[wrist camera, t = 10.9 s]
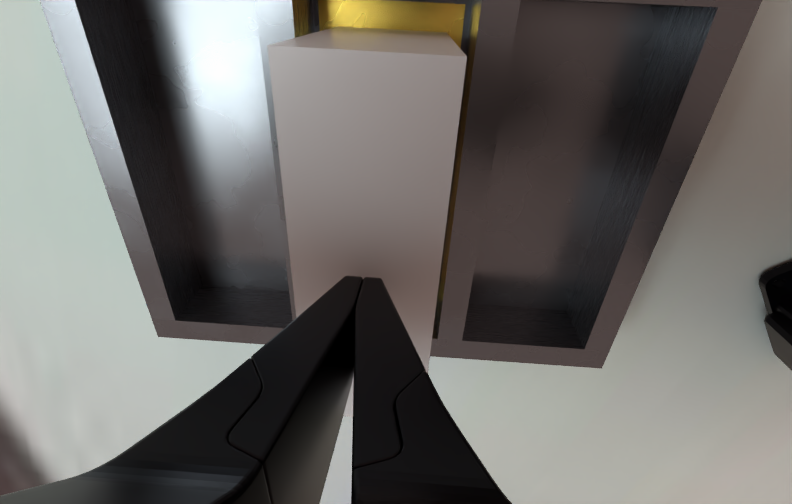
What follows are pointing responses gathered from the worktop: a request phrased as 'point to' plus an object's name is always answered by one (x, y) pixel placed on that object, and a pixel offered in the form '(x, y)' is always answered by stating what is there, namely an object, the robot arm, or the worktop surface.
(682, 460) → the worktop surface
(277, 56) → the tall white block
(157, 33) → the grey divided tray
